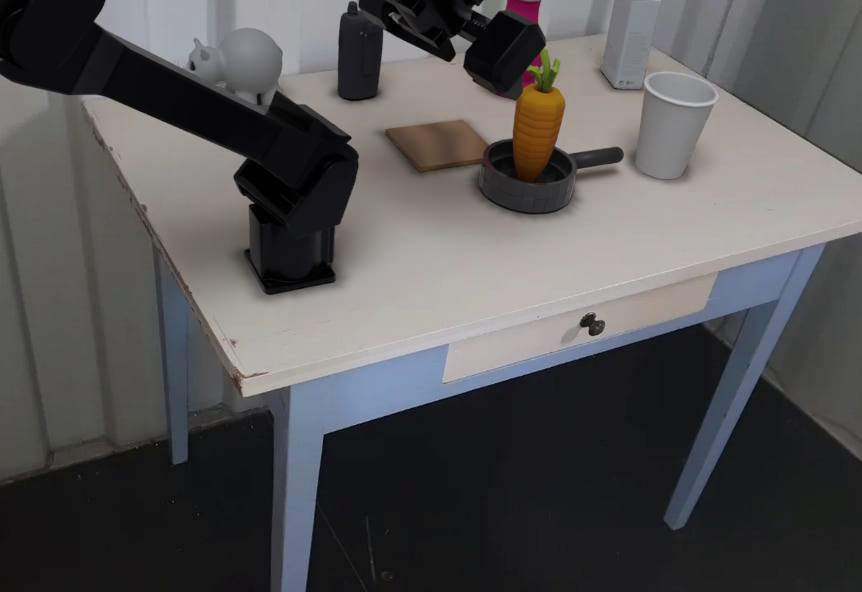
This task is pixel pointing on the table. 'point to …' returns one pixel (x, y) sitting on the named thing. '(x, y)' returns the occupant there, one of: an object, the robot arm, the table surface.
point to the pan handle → (597, 157)
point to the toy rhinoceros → (240, 64)
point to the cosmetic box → (629, 42)
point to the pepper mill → (527, 5)
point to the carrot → (537, 121)
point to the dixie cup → (672, 122)
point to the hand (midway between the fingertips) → (484, 76)
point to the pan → (526, 196)
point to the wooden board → (439, 144)
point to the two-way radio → (358, 54)
